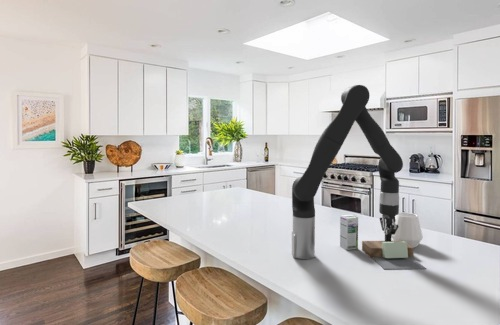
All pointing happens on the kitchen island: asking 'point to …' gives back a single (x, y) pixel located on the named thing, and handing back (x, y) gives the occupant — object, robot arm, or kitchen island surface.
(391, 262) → the mat
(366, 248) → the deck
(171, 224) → the kitchen island surface
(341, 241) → the syrup box
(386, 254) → the mint green block
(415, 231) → the cup
